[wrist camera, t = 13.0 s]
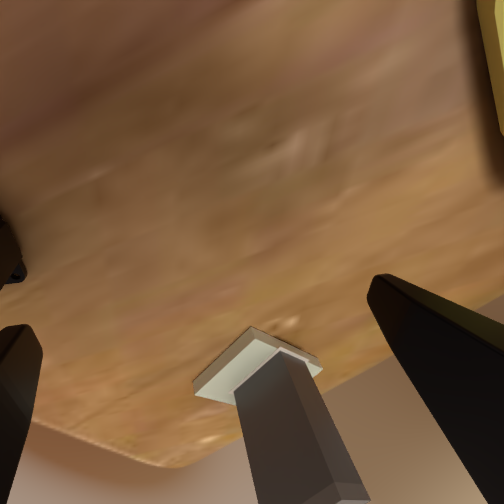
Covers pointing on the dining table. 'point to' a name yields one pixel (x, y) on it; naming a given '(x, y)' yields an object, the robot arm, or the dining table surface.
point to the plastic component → (494, 48)
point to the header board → (245, 365)
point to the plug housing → (294, 438)
